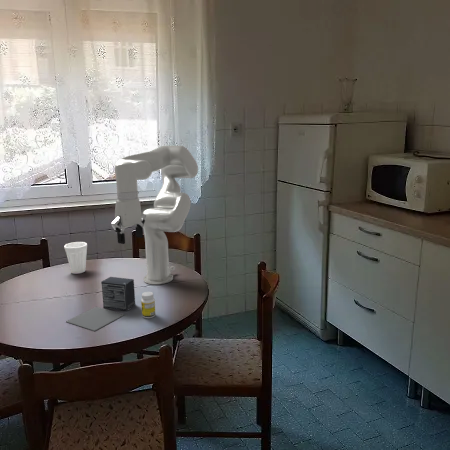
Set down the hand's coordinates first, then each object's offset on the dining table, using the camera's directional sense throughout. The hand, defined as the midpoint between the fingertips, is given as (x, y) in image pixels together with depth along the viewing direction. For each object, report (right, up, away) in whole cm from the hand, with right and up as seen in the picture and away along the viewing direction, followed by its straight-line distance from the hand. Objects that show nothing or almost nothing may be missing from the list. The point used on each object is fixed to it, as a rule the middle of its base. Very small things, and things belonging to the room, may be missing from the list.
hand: (130, 240), depth 168 cm
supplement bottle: (+9, -27, -10) cm, 30 cm away
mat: (-10, -27, -12) cm, 31 cm away
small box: (-4, -25, -2) cm, 25 cm away
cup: (-32, -16, +36) cm, 51 cm away
